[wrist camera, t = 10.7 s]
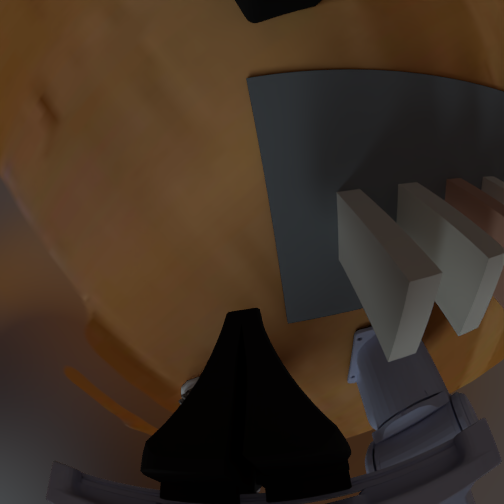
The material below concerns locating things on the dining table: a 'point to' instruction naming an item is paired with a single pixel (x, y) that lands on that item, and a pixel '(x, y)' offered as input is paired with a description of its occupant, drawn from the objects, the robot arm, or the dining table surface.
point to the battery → (271, 8)
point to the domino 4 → (493, 188)
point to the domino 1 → (386, 273)
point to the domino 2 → (452, 254)
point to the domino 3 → (479, 216)
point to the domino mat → (360, 160)
